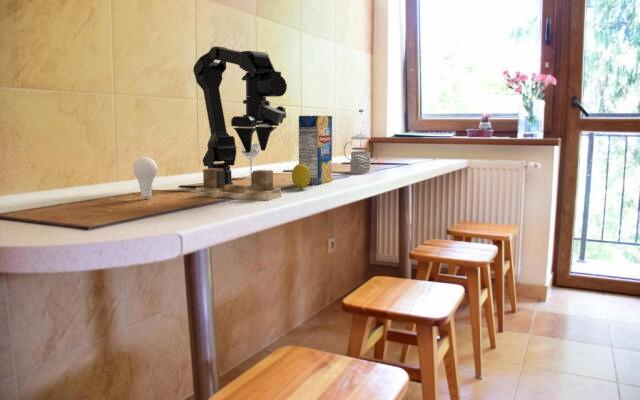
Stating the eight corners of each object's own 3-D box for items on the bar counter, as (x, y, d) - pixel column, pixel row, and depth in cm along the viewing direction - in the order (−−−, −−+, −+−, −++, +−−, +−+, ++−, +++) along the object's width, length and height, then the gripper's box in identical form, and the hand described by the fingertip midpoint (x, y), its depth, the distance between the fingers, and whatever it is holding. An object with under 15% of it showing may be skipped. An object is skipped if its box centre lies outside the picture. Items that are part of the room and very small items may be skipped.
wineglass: (263, 177, 198) (263, 144, 197) (246, 178, 195) (246, 144, 193) (255, 176, 204) (254, 143, 202) (238, 177, 200) (237, 144, 198)
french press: (373, 173, 215) (374, 108, 211) (344, 173, 215) (344, 108, 211) (371, 171, 224) (372, 109, 221) (343, 171, 225) (343, 109, 221)
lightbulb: (136, 201, 139) (134, 158, 138) (132, 198, 145) (130, 156, 143) (160, 199, 142) (159, 157, 141) (156, 196, 148) (154, 156, 146)
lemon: (308, 190, 162) (308, 163, 161) (289, 189, 163) (289, 163, 162) (312, 188, 167) (312, 162, 166) (294, 187, 168) (294, 161, 167)
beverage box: (298, 183, 179) (298, 115, 176) (313, 180, 189) (313, 116, 186) (317, 184, 176) (317, 115, 173) (331, 181, 186) (332, 116, 183)
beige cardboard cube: (273, 192, 147) (272, 170, 146) (266, 194, 144) (266, 171, 143) (257, 191, 149) (257, 169, 148) (250, 193, 145) (250, 171, 144)
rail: (194, 196, 149) (194, 169, 148) (210, 192, 156) (209, 167, 155) (268, 200, 141) (268, 172, 140) (281, 196, 149) (281, 169, 148)
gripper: (266, 96, 145) (266, 155, 147) (295, 98, 162) (294, 150, 165) (229, 95, 149) (230, 153, 151) (261, 97, 166) (261, 149, 168)
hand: (255, 151), depth 159 cm, fingers open, 9 cm apart
